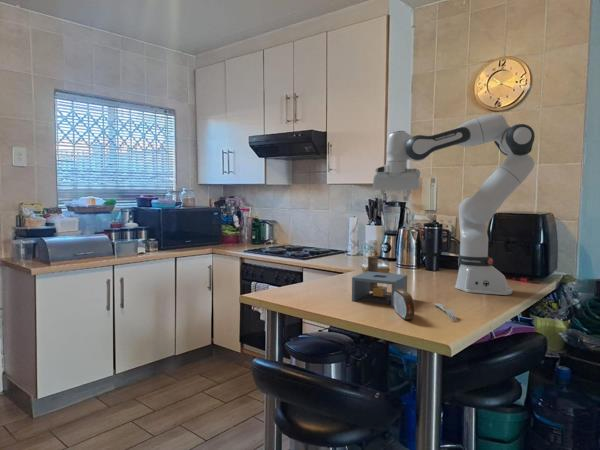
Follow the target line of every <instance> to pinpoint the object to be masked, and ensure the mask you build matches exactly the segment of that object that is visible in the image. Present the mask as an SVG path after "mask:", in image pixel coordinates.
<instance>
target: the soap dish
mask: <svg viewBox="0 0 600 450" xmlns="http://www.w3.org/2000/svg"><path fill="white" fill-rule="evenodd" d="M360 267H361V270H362V273H365V272H367V271H368V263H363V264H362V265H361V266H360ZM390 270H391V269H390V268H389V266H388V265H387V264H386V263H378V272H380V273H389V272H390Z"/></svg>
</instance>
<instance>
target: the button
mask: <svg viewBox="0 0 600 450" xmlns="http://www.w3.org/2000/svg"><path fill="white" fill-rule="evenodd" d="M372 293H373V296H380V297H384V296H386V295H388V294H387V293H388V286H383V285H380V286H379V285H377V286H376V287H374V288H373V291H372Z"/></svg>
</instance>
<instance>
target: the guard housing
mask: <svg viewBox="0 0 600 450" xmlns="http://www.w3.org/2000/svg"><path fill="white" fill-rule="evenodd" d="M351 279H352V280H351V302H356V301H358V300H361V299H362V301H364V302H370V303H375V304H382V305H383V304H385V305H389V304H390V307H391V308H394V304H393V303H394V300H393V292H394V290H395V289H404V290H405V291H407V292H408V274H401V273H400V274H398V273H392V272H391V273H380V272H370V271H367V272H365V273H363V272H362V273H360V274H357V275H355V276H352V277H351ZM370 282H374V283H377V284H385V285H391V294H387V295H386V296H384V297H380V296H373V292H371V291H370Z"/></svg>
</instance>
